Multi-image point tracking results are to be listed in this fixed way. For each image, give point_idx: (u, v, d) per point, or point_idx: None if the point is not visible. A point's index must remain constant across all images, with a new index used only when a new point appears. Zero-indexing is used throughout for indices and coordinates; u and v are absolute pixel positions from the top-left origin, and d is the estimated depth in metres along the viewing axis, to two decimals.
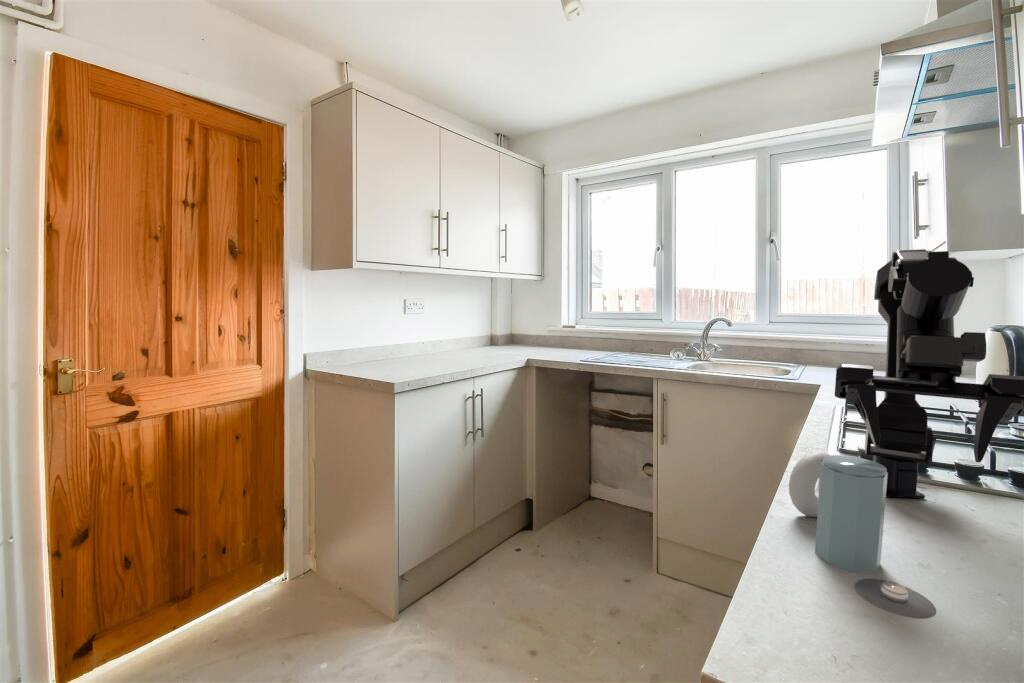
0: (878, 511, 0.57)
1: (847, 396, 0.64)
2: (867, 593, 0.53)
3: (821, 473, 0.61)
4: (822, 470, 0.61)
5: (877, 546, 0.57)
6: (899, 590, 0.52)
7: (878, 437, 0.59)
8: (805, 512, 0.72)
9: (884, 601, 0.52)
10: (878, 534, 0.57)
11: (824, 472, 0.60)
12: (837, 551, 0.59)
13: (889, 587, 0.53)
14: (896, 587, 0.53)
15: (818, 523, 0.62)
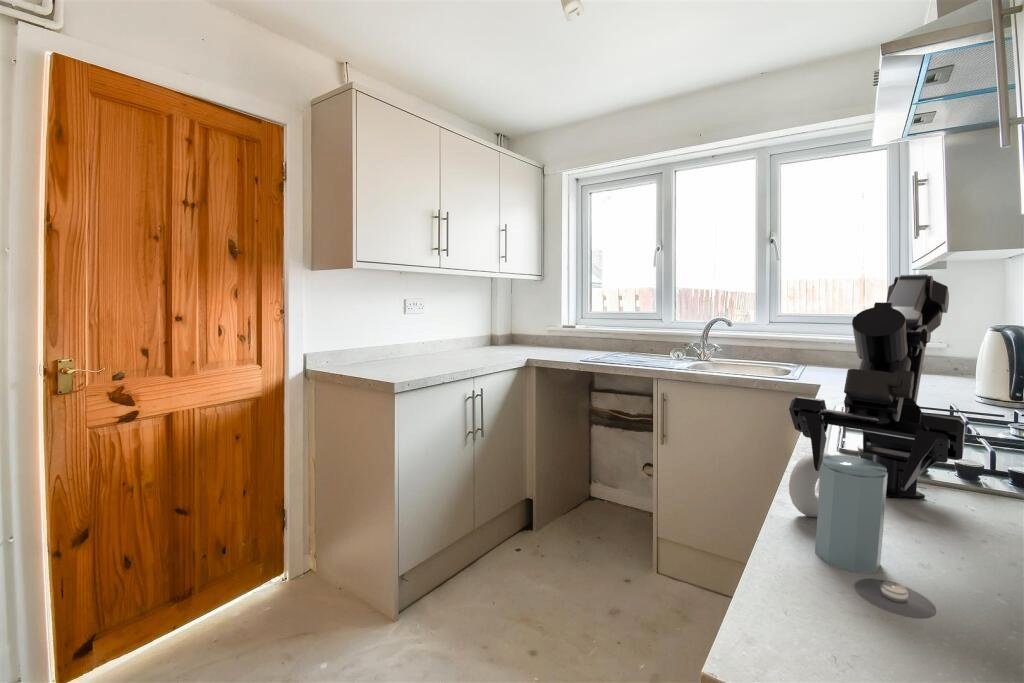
0: (878, 511, 0.57)
1: (801, 426, 0.70)
2: (867, 593, 0.53)
3: (821, 473, 0.61)
4: (822, 470, 0.61)
5: (877, 546, 0.57)
6: (899, 590, 0.52)
7: (817, 460, 0.65)
8: (805, 512, 0.72)
9: (884, 601, 0.52)
10: (878, 534, 0.57)
11: (824, 472, 0.60)
12: (837, 551, 0.59)
13: (889, 587, 0.53)
14: (896, 587, 0.53)
15: (818, 523, 0.62)
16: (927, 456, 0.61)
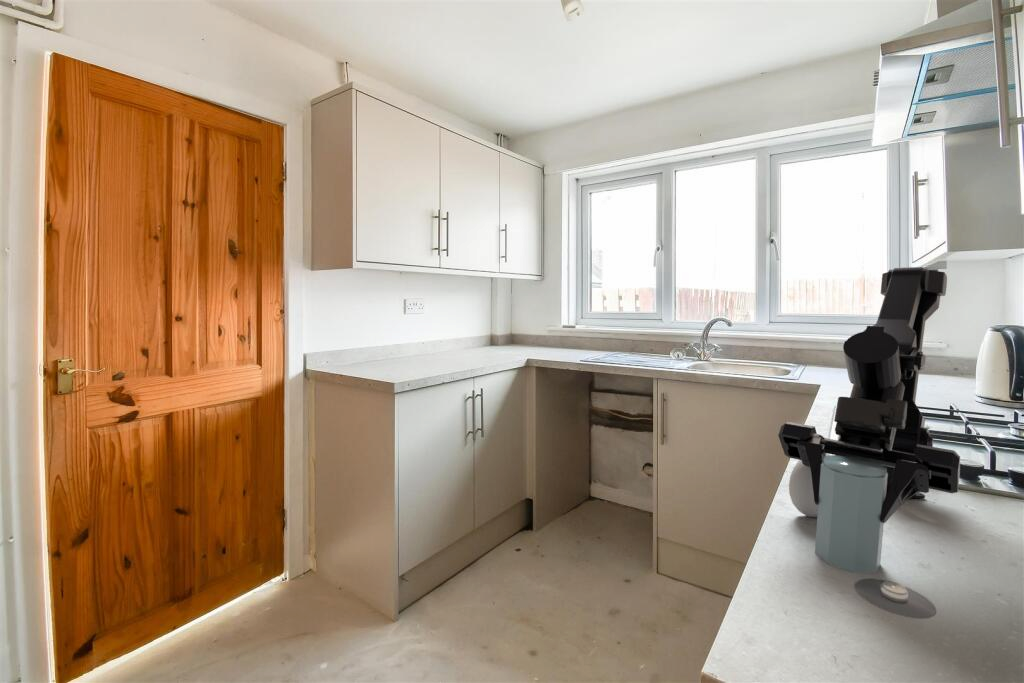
0: (878, 511, 0.57)
1: (800, 455, 0.67)
2: (867, 593, 0.53)
3: (821, 473, 0.61)
4: (822, 470, 0.61)
5: (877, 546, 0.57)
6: (899, 590, 0.52)
7: (817, 494, 0.62)
8: (805, 512, 0.72)
9: (884, 601, 0.52)
10: (878, 534, 0.57)
11: (824, 472, 0.60)
12: (837, 551, 0.59)
13: (889, 587, 0.53)
14: (896, 587, 0.53)
15: (818, 523, 0.62)
16: (908, 486, 0.59)
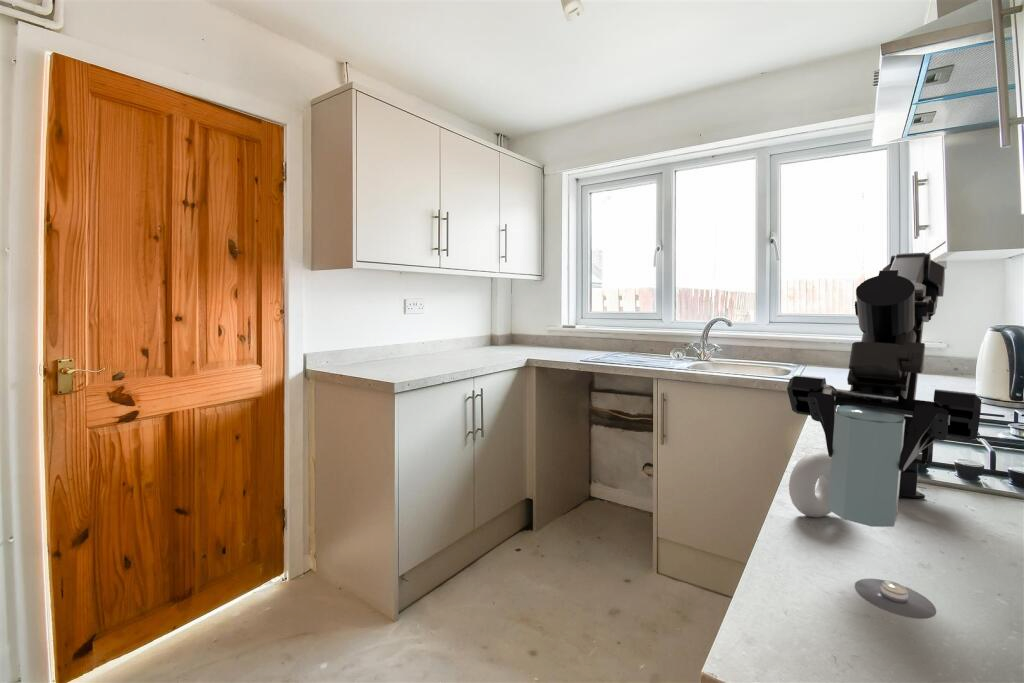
0: (897, 459, 0.54)
1: (810, 409, 0.64)
2: (867, 593, 0.53)
3: (835, 423, 0.58)
4: (836, 419, 0.58)
5: (895, 496, 0.54)
6: (899, 590, 0.52)
7: (831, 445, 0.59)
8: (805, 512, 0.72)
9: (884, 601, 0.52)
10: (896, 483, 0.54)
11: (839, 421, 0.57)
12: (853, 503, 0.56)
13: (889, 587, 0.53)
14: (896, 587, 0.53)
15: (831, 476, 0.59)
16: (925, 434, 0.56)
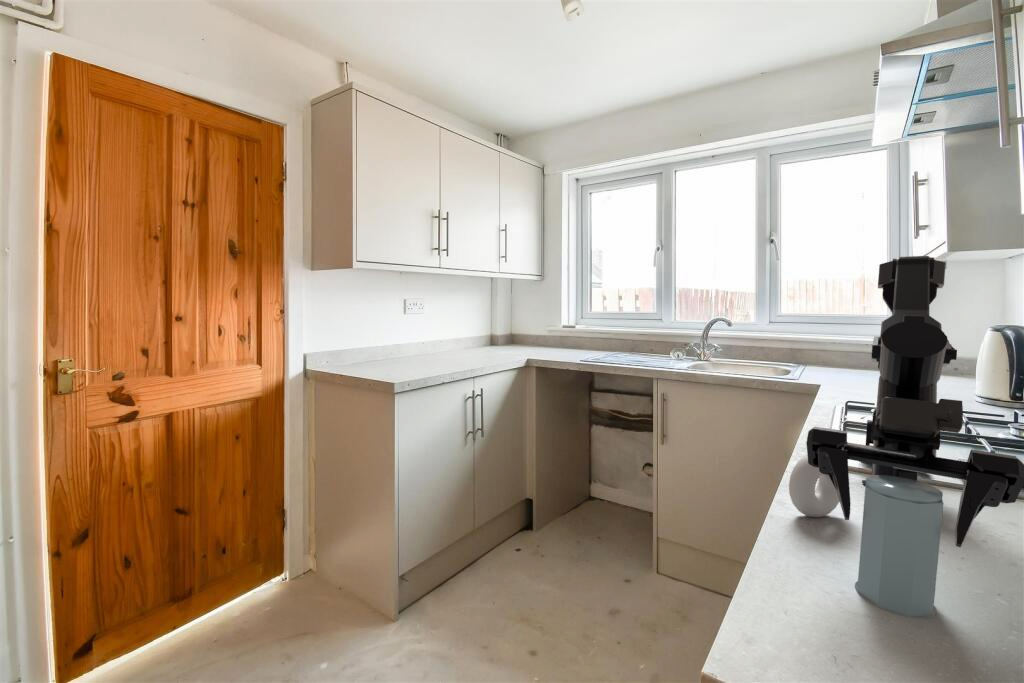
0: (937, 542, 0.49)
1: (819, 463, 0.59)
2: None
3: (866, 498, 0.53)
4: (867, 494, 0.52)
5: (935, 582, 0.50)
6: None
7: (848, 508, 0.54)
8: (805, 512, 0.72)
9: None
10: (936, 568, 0.49)
11: (870, 497, 0.52)
12: (890, 589, 0.50)
13: None
14: None
15: (861, 556, 0.53)
16: None
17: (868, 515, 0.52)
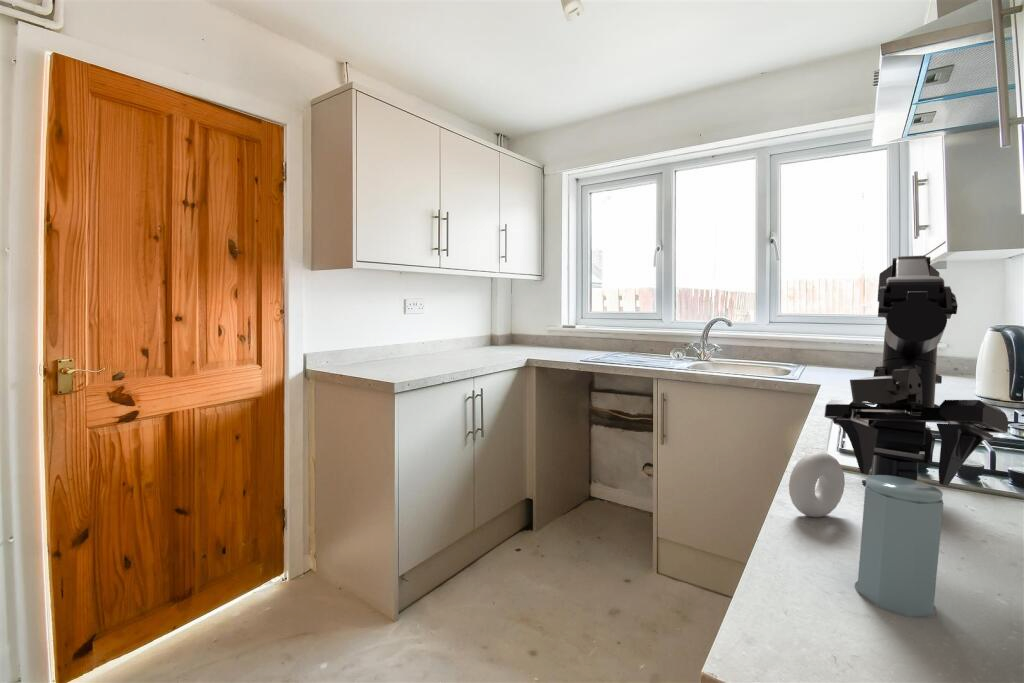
0: (937, 542, 0.49)
1: None
2: None
3: (866, 498, 0.53)
4: (867, 494, 0.52)
5: (935, 582, 0.50)
6: None
7: (862, 466, 0.67)
8: (805, 512, 0.72)
9: None
10: (936, 568, 0.49)
11: (870, 497, 0.52)
12: (890, 589, 0.50)
13: None
14: None
15: (861, 556, 0.53)
16: (967, 439, 0.59)
17: (868, 515, 0.52)
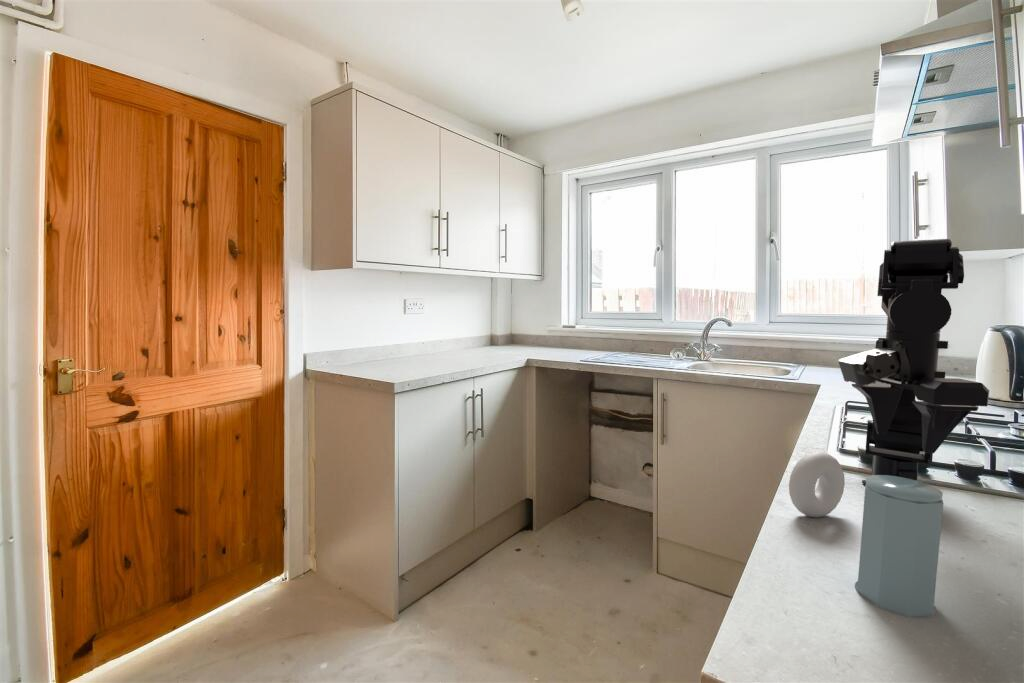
0: (937, 542, 0.49)
1: None
2: None
3: (866, 498, 0.53)
4: (867, 494, 0.52)
5: (935, 582, 0.50)
6: None
7: (876, 427, 0.72)
8: (805, 512, 0.72)
9: None
10: (936, 568, 0.49)
11: (870, 497, 0.52)
12: (890, 589, 0.50)
13: None
14: None
15: (861, 556, 0.53)
16: (952, 411, 0.61)
17: (868, 515, 0.52)
